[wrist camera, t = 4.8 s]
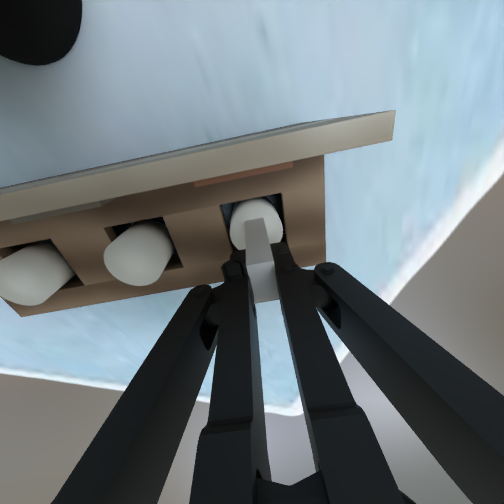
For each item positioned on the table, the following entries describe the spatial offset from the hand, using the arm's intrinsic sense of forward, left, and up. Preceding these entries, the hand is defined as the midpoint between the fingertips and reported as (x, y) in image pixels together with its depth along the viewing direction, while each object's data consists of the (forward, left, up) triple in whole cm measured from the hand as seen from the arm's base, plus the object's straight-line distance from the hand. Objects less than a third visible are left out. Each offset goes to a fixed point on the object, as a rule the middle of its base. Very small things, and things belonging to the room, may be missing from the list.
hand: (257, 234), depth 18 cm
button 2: (0, 0, -4) cm, 4 cm away
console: (-1, -10, -7) cm, 12 cm away
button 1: (0, -20, -3) cm, 20 cm away
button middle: (0, -10, -3) cm, 10 cm away
